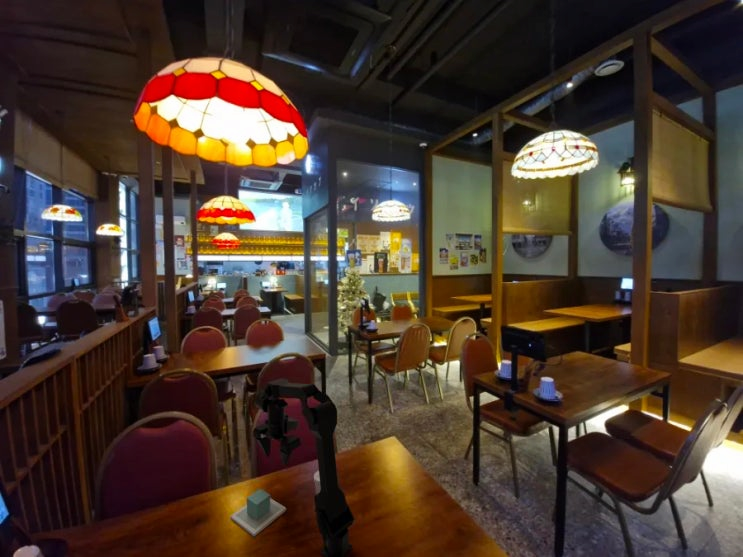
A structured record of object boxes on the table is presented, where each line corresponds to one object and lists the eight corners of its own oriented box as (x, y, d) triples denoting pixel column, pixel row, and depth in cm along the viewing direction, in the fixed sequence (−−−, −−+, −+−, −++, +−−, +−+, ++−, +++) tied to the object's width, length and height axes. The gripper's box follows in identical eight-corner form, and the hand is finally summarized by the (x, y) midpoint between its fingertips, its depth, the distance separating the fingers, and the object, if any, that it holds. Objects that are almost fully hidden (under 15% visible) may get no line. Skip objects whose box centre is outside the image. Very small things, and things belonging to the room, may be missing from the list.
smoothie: (329, 512, 101) (329, 469, 101) (310, 509, 102) (310, 467, 102) (335, 497, 107) (335, 457, 107) (317, 495, 109) (317, 455, 108)
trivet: (286, 510, 102) (286, 507, 102) (254, 536, 92) (254, 533, 92) (262, 495, 108) (262, 492, 108) (230, 518, 98) (230, 515, 98)
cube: (270, 510, 101) (270, 494, 101) (257, 520, 97) (256, 504, 96) (260, 503, 104) (260, 488, 103) (247, 513, 99) (246, 498, 99)
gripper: (312, 414, 109) (313, 458, 110) (277, 401, 120) (277, 441, 120) (287, 428, 100) (288, 476, 101) (251, 413, 110) (252, 456, 111)
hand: (276, 461), depth 108 cm, fingers open, 9 cm apart
